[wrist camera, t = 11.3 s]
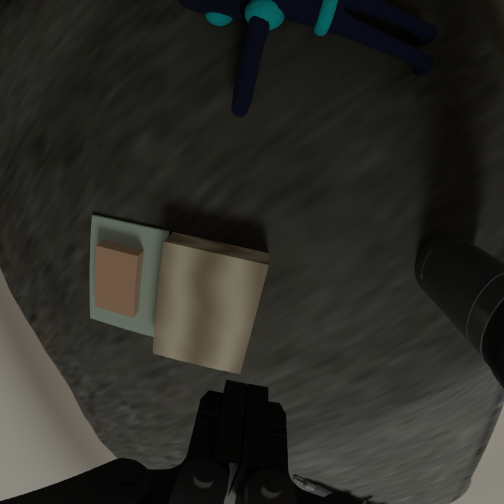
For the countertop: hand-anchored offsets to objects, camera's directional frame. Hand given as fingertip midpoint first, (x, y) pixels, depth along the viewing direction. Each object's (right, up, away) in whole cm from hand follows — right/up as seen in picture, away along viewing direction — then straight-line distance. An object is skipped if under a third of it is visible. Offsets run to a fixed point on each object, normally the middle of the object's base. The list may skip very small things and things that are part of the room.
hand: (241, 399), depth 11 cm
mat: (-17, +2, +31) cm, 35 cm away
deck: (-5, -1, +31) cm, 32 cm away
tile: (-17, +1, +28) cm, 33 cm away
